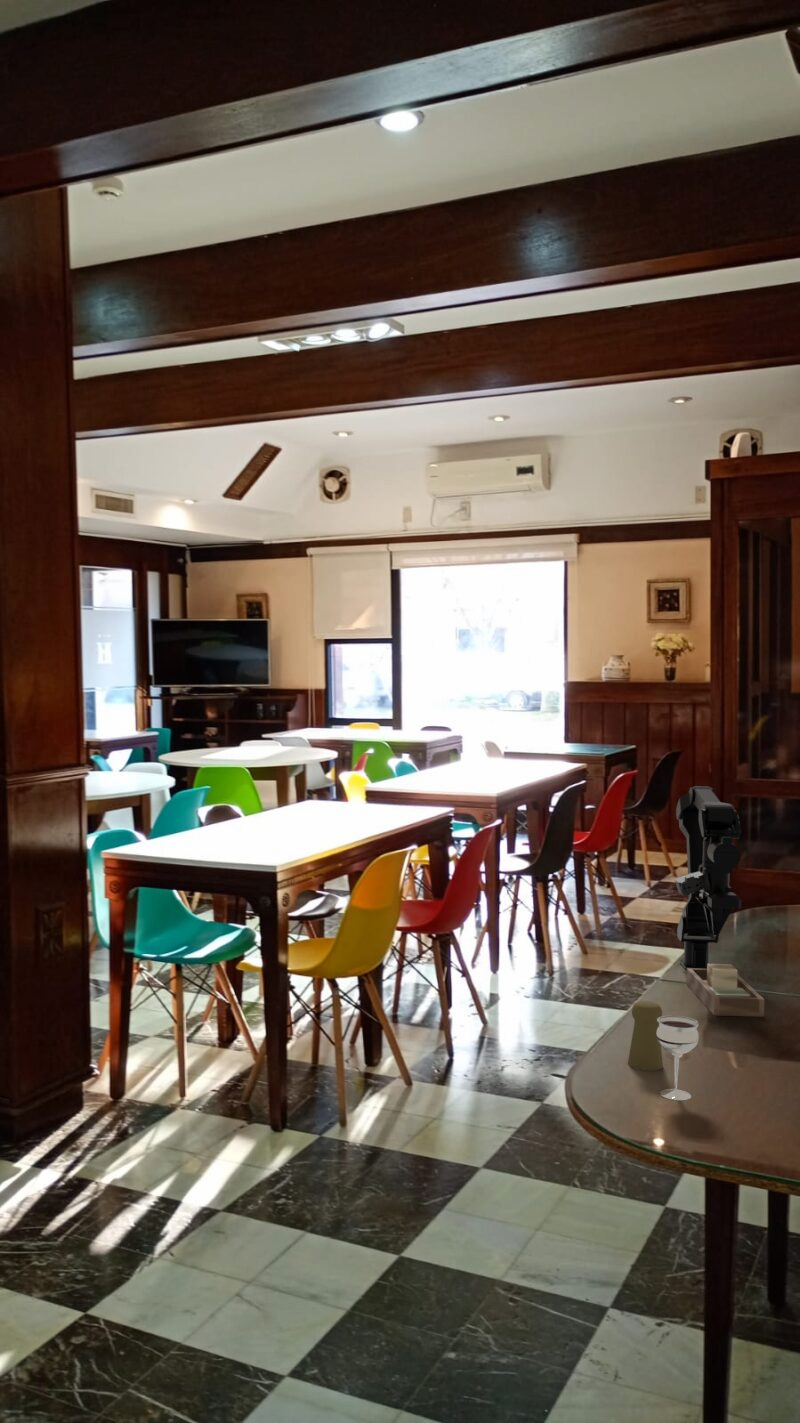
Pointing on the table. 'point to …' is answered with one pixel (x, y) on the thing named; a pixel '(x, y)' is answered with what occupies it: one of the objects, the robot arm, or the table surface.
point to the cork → (645, 1037)
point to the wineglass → (677, 1045)
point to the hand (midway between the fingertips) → (713, 933)
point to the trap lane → (725, 996)
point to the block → (722, 976)
